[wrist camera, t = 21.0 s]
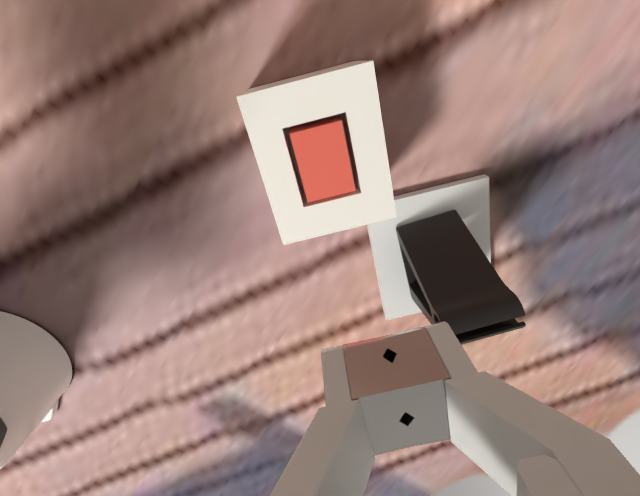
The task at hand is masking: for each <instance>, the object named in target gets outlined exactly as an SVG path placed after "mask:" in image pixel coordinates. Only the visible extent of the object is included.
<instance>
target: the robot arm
mask: <svg viewBox="0 0 640 496" xmlns="http://www.w3.org/2000/svg"><path fill="white" fill-rule="evenodd" d="M321 360H322V370H323V381H324V391H325V402H326V407H322V408H319V410H318V412H317V413H316V415H315V417H314V419H313V420H312V422H311V424H310V426H309V427H308V429H307V431H306V433H305V435H304V436H303V438H302V440H301V442H300V443H299V445H298V447H297V449H296V450H295V452H294V454H293V456H292V457H291V459H290V461H289V463H288V464H287V466H286V468H285V470H284V471H283V473H282V475H281V477H280V479H279V480H278V482H277V484H276V486H275V487H274V489H273V491H272V493H271V494H270V496H363V495H364V492H365V489H366V485H367V482H368V479H369V476H370V472H371V469H372V466H373V463H374V460H375V457H374V456H375V455H379V454H383V453H387V452H391V451H395V450H399V449H403V448H407V447H412V446H417V445H423V444H428V443H433V442H439V441H444V440H450V439H451V442H452V443H453V444H454V445H456V446H457V447H458V448H459V449H460V450H461V451H462V452H463V453H465V454H466V455H467V456H468V457H469V458H470V459H471V460H472V461H473V462H475V463H476V464H477V465H478V466H479V467H480V468H481V469H482V470H484V471H485V472H486V473H487V474H488V475H489V476H490V477H491V478H493V479H494V480H495V481H496V482H497V483H498V484H499V485H500V486H502V487H503V488H504V489H505V490H506V491H507V492H508V493H509V494H511V495H512V496H640V475H639V474H638V472H636V470H635V469H634V468H633V467H632V466H631V464H630V463H629V462H628V461H627V460H626V458H625V457H624V456H623V455H622V454H621V452H620V451H619V450H618V449H617V448H616V447H615V445H614V444H613V443H612V442H611V440H610V439H608V438H606V437H605V436H603V435H601V434H599V433H597V432H595V431H594V430H592V429H590V428H588V427H586V426H584V425H582V424H581V423H579V422H577V421H575V420H573V419H571V418H570V417H568V416H566V415H564V414H562V413H560V412H559V411H557V410H555V409H553V408H551V407H549V406H548V405H546V404H544V403H542V402H540V401H538V400H536V399H535V398H533V397H531V396H529V395H527V394H525V393H524V392H522V391H520V390H518V389H516V388H514V387H513V386H511V385H509V384H507V383H505V382H503V381H502V380H500V379H498V378H496V377H494V376H492V375H490V374H489V373H487V372H480V373H478V372H477V370H476V369H475V367H474V365H473V364H472V362H471V360H470V359H469V357H468V355H467V354H466V352H465V351H464V349H463V347H462V346H461V344H460V342H459V341H458V339H457V337H456V336H455V334H454V332H453V331H452V329H451V327H450V326H449V324H448V323H446V322H445V321H444V322H440V323H436V324H432V325H428V326H424V327H421V328H417V329H413V330H408V331H404V332H400V333H396V334H391V335H387V336H383V337H379V338H374V339H369V340H364V341H359V342H354V343H349V344H344V345H343V346H337V347H332V348H327V349H322V351H321ZM71 379H72V365H71V362H70V359H69V357H68V355H67V353H66V351H65V350H64V348H63V347H62V346H61V344H60V343H59V342H58V341H57V340H56V339H55V338H54V337H53V336H51V335H50V334H49V333H48V332H46V331H45V330H44V329H42V328H41V327H39V326H37V325H36V324H34V323H32V322H30V321H28V320H26V319H23V318H21V317H18V316H15V315H12V314H9V313H5V312H1V311H0V469H1V468H2V467H3V466H4V465H5V464H6V463H7V462H8V461H9V460H10V458H11V457H12V456H13V455H14V454H15V453H16V451H17V450H18V449H19V448H20V447H21V445H22V444H23V443H24V442H25V441H26V439H27V438H28V437H29V436H30V435H31V433H32V432H33V431H34V430H35V429H36V427H37V426H38V425H39V424H40V422H46V421H49V420H51V419H52V417H53V416H54V415H55V414H56V412H57V410H58V400H59V398H60V396H61V395H62V394H63V393H64V392H65V391H66V389H67V388H68V386H69V385H70V382H71Z"/></svg>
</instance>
